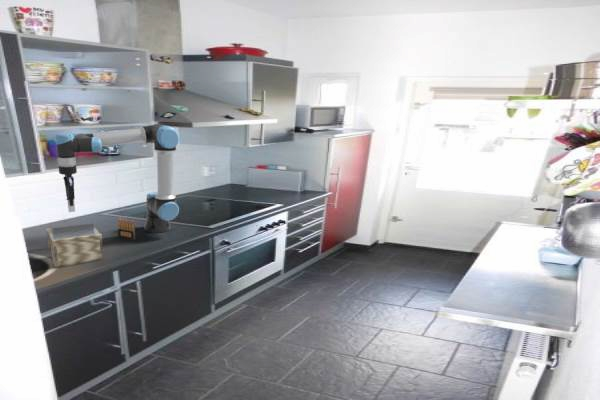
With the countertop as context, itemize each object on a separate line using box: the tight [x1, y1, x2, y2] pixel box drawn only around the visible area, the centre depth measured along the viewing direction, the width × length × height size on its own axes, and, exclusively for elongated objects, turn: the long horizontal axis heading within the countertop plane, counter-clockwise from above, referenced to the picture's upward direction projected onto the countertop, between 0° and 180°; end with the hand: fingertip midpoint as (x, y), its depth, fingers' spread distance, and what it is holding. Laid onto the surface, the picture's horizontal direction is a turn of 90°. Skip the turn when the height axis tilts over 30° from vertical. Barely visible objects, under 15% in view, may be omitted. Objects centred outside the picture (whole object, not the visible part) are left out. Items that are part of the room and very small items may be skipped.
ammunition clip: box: [117, 217, 137, 241], centre depth 226 cm, size 11×2×12 cm, turn 74°
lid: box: [50, 222, 101, 243], centre depth 194 cm, size 20×12×4 cm, turn 127°
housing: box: [46, 227, 104, 269], centre depth 200 cm, size 20×28×13 cm
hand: (71, 211), depth 200 cm, fingers closed
